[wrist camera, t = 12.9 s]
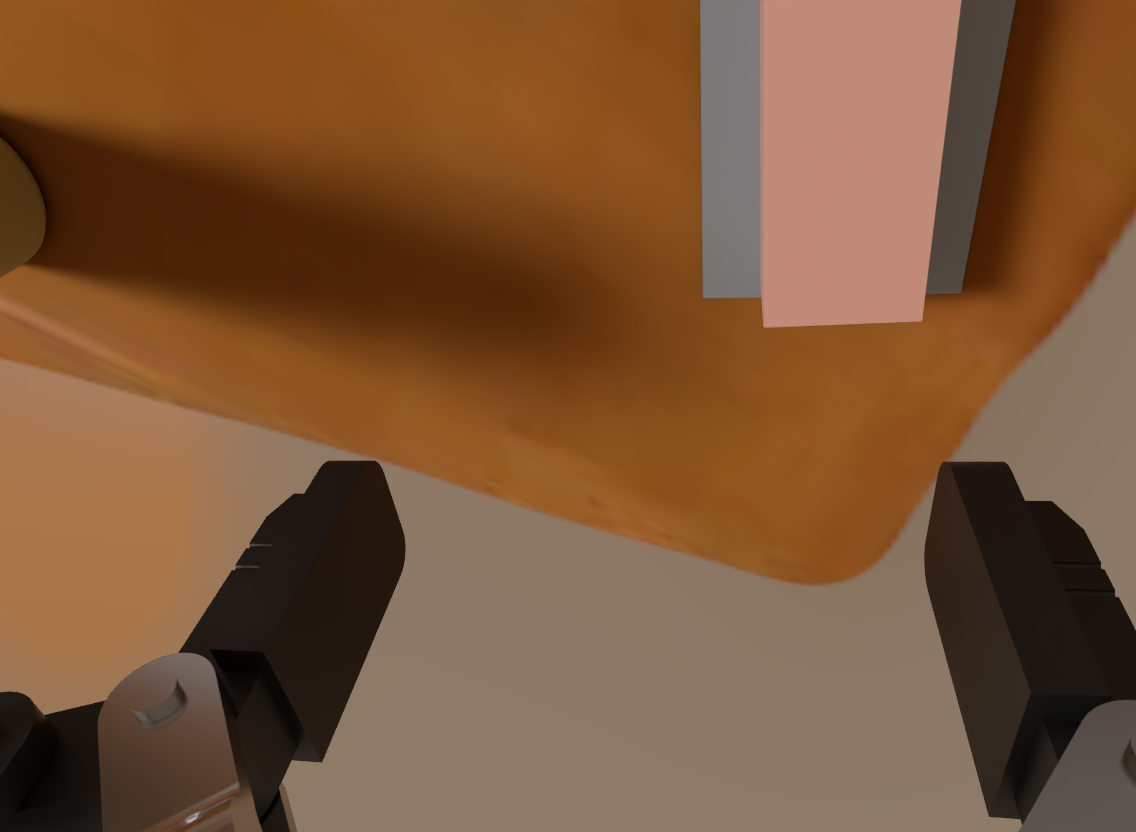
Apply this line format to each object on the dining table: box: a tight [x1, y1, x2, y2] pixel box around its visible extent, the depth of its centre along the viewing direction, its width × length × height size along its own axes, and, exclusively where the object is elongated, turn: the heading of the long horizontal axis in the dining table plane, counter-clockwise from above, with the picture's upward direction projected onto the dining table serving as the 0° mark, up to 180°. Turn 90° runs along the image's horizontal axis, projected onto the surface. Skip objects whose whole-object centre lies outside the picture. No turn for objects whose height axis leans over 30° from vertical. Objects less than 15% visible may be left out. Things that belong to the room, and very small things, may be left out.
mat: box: [700, 0, 1016, 298], centre depth 25 cm, size 15×9×1 cm, turn 6°
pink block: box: [760, 0, 961, 328], centre depth 24 cm, size 14×5×3 cm, turn 8°
